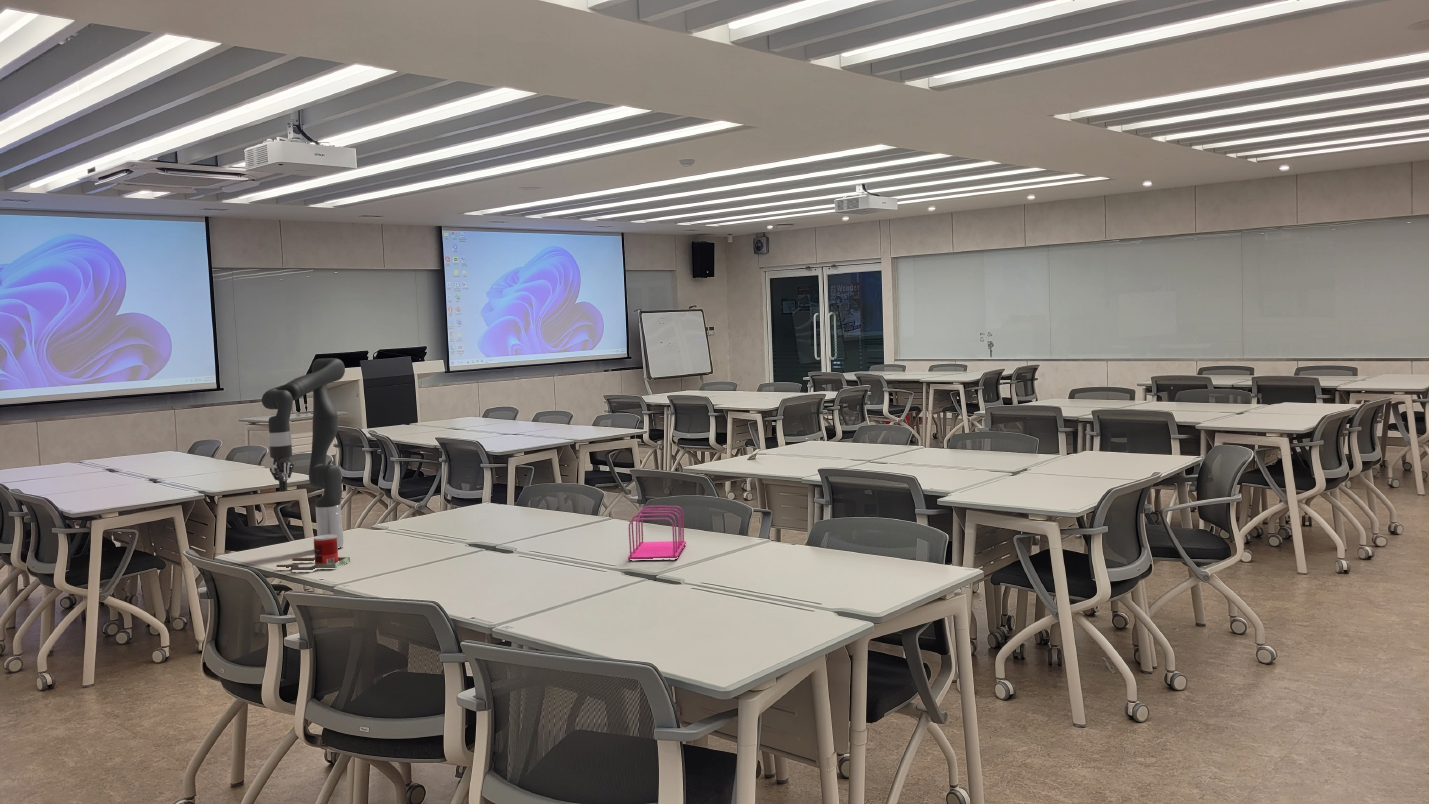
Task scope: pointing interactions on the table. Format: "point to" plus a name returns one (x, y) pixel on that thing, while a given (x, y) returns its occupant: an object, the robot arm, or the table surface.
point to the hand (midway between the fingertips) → (283, 491)
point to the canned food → (326, 549)
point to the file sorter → (657, 548)
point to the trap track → (295, 566)
